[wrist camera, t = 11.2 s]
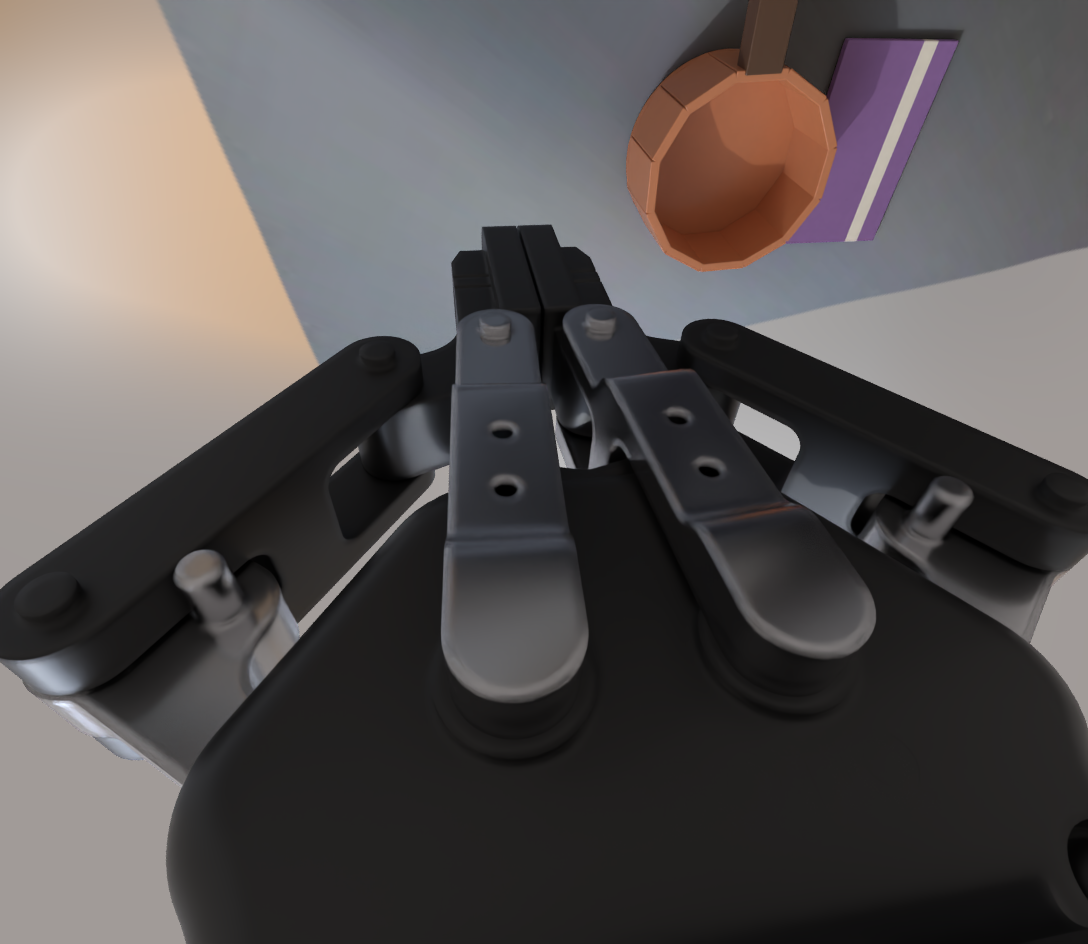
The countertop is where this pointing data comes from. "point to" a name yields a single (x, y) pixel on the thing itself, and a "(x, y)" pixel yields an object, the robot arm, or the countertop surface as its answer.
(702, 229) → the pan
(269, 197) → the countertop surface
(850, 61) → the towel
